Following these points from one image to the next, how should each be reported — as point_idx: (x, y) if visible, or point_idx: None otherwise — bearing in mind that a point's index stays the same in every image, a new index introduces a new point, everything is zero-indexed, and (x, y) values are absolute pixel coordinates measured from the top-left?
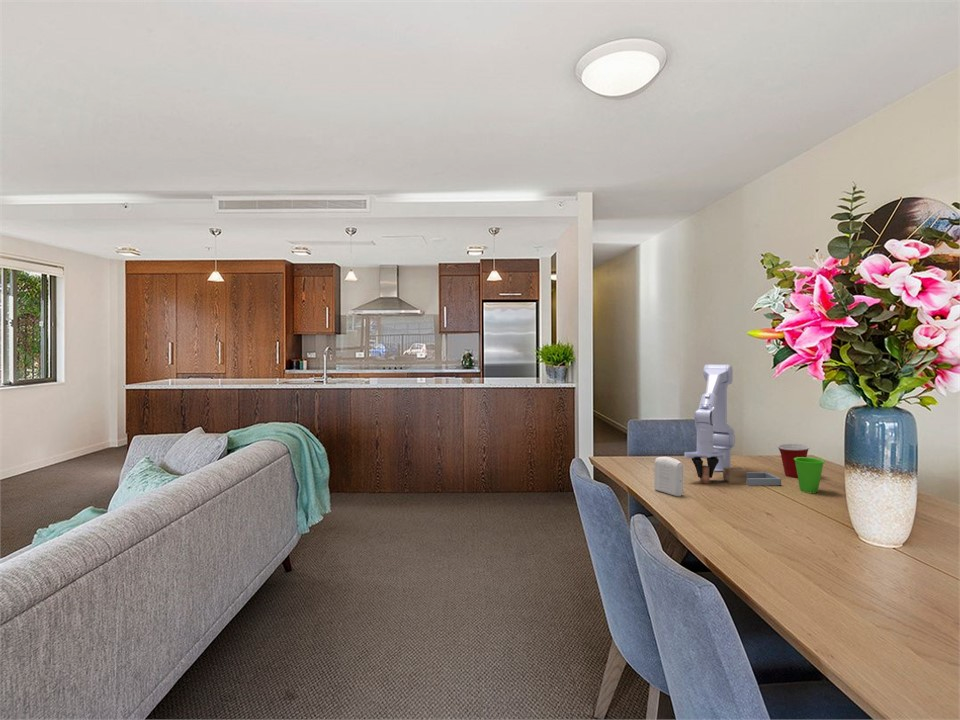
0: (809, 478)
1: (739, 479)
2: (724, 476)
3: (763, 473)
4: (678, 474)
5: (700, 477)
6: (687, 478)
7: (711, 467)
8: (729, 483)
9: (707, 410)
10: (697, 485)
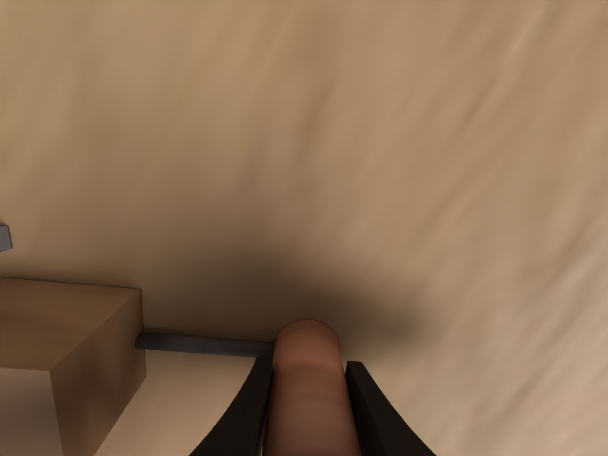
0: None
1: (25, 302)
2: (124, 391)
3: None
4: None
5: (359, 363)
6: None
7: (256, 439)
8: (138, 293)
9: None
10: (408, 280)
